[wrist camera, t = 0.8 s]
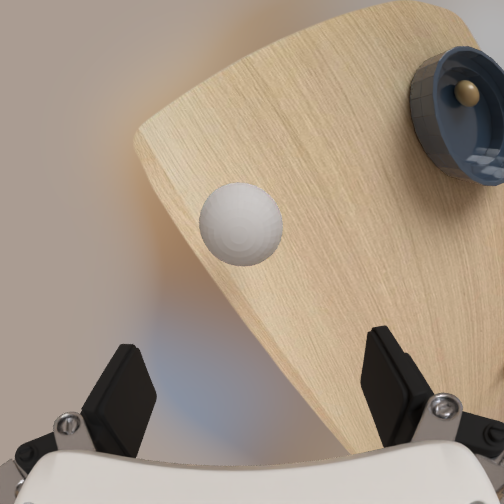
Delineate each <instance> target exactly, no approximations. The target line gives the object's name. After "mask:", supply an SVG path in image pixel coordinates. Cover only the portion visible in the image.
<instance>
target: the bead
mask: <svg viewBox="0 0 504 504" xmlns="http://www.w3.org/2000/svg"><path fill="white" fill-rule="evenodd" d="M454 93H455V96H456V99H457V100H458V101H459V102H460V103H461V104H462V105H464V106H466V107H473V106H475V105H476V104H477V103H478V101H479V91H478V89H477V87H476V86H475V85H474V84H473V83H472V82H470V81H467V80H462V81H459V82H458V83H457V84H456V86H455V89H454Z"/></svg>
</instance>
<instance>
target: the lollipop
mask: <svg viewBox="0 0 504 504" xmlns="http://www.w3.org/2000/svg"><path fill="white" fill-rule="evenodd" d="M199 228H200V232H201V236H202V239H203V241H204V243H205V245H206V246H207V248H208V249H209V251H210V252H211V253H212V254H213V255H214V256H215V257H217V258H218V259H220V260H221V261H223V262H225V263H228V264H231V265H235V266H252V265H255V264H258V263H261V262H262V261H264V260H266V259H267V258H268V257H270V256H271V255H272V254H273V253H274V251H275V250H276V249H277V247H278V245H279V243H280V240H281V236H282V228H283V222H282V216H281V213H280V210H279V208H278V206H277V204H276V202H275V201H274V200H273V198H272V197H271V196H270V195H269V194H268V193H266V192H265V191H264V190H263V189H261V188H259V187H257V186H255V185H251V184H248V183H239V182H237V183H230V184H227V185H224V186H221V187H220V188H218V189H216V190H215V191H214V192H213V193H212V194H210V195H209V197H208V198H207V200H206V201H205V203H204V205H203V207H202V210H201V213H200V218H199Z"/></svg>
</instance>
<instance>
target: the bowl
mask: <svg viewBox="0 0 504 504" xmlns="http://www.w3.org/2000/svg"><path fill="white" fill-rule="evenodd" d="M462 80H467V81H470V82H472V83H473V84H474V85H475V86H476V87H477V89H478V91H479V101H478V103H477V104H476V105H475V106H473V107H466V106H464V105H462V104H461V103H460V102H459V101H458V100H457V99H456V96H455V93H454V89H455V86H456V84H457V83H458V82H459V81H462ZM410 108H411V117H412V121H413V124H414V128H415V131H416V134H417V137H418V139H419V141H420V143H421V145H422V147H423V149H424V151H425V152H426V154H427V155H428V156H429V157H430V159H431V160H432V161H433V162H434V164H435V165H436V166H437V167H438V168H439V169H441V170H442V171H443V172H444V173H446V174H447V175H449V176H451V177H454V178H456V179H459V180H463V181H467V182H472V183H476V184H480V185H484V186H497V185H499V184H502V183H504V71H503V69H502V68H501V67H500V66H499V65H498V64H497V63H496V62H495V61H494V60H493V59H492V58H491V57H489V56H488V55H486V54H485V53H484V52H482V51H480V50H477V49H475V48H472V47H469V46H457V47H454V48H452V49H450V50H447V51H445V52H443V53H441V54H438V55H436V56H434V57H432V58H430V59H428V60H426V61H424V62H423V63H422V65H421V66H420V67H419V68H418V69H417V71H416V73H415V76H414V78H413V81H412V83H411V92H410Z"/></svg>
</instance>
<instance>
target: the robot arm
mask: <svg viewBox="0 0 504 504" xmlns="http://www.w3.org/2000/svg"><path fill="white" fill-rule="evenodd" d="M361 388H362V390H363V393H364V396H365V398H366V401H367V404H368V406H369V409H370V412H371V414H372V417H373V420H374V422H375V425H376V428H377V431H378V433H379V436H380V439H381V442H382V445H383V447H384V448H382V449H377V450H373V451H368V452H364V453H358V454H353V455H348V456H342V457H336V458H330V459H323V460H316V461H309V462H300V463H289V464H278V465H259V466H208V465H189V464H177V463H167V462H159V461H151V460H144V459H136V456H137V454H138V451H139V448H140V445H141V442H142V439H143V436H144V433H145V430H146V428H147V425H148V422H149V419H150V416H151V413H152V411H153V408H154V405H155V402H156V398H157V395H156V391H155V389H154V386H153V384H152V382H151V379H150V376H149V374H148V371H147V368H146V366H145V363H144V361H143V358H142V355H141V352H140V350H139V348H136V346H135V345H133V344H121V345H120V346H119V347H118V349H117V350H116V352H115V354H114V355H113V357H112V359H111V360H110V362H109V364H108V365H107V367H106V368H105V370H104V371H103V373H102V375H101V376H100V378H99V380H98V381H97V383H96V385H95V386H94V388H93V390H92V391H91V393H90V395H89V396H88V398H87V400H86V402H85V403H84V405H83V407H82V411H81V413H80V414H79V413H77V412H67V413H64V414H62V415H60V416H59V417H58V418H57V419H56V420H55V422H54V425H53V431H54V432H52V433H49V434H47V435H44V436H42V437H39V438H37V439H35V440H32V441H29V442H27V443H25V444H22V445H21V446H20V447H19V448H18V449H17V451H16V454H15V460H14V461H13V460H12V459H10V460H8V461H7V462H6V463H4V464H3V465H1V466H0V504H504V423H502V422H500V421H496V420H493V419H489V418H485V417H481V416H478V415H474V414H471V413H467V412H464V411H462V410H463V406H462V403H461V401H460V400H459V399H458V398H457V397H456V396H454V395H452V394H449V393H438V394H436V395H434V393H433V391H432V390H431V388H430V386H429V385H428V383H427V382H426V380H425V378H424V377H423V375H422V374H421V372H420V370H419V369H418V367H417V366H416V364H415V363H414V361H413V359H412V358H411V356H410V355H409V354H408V353H404V352H403V350H402V348H401V347H400V345H399V344H398V342H397V341H396V339H395V338H394V336H393V335H392V333H391V332H390V330H389V329H388V327H387V326H379V327H373V328H372V330H371V331H370V332H368V333H367V340H366V348H365V355H364V362H363V368H362V374H361Z"/></svg>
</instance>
